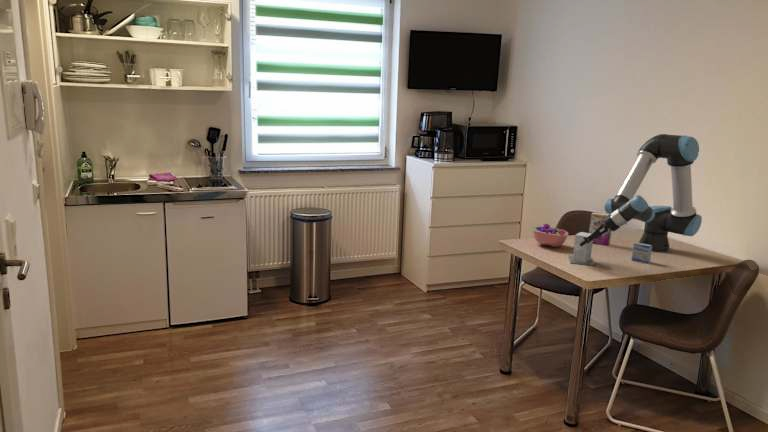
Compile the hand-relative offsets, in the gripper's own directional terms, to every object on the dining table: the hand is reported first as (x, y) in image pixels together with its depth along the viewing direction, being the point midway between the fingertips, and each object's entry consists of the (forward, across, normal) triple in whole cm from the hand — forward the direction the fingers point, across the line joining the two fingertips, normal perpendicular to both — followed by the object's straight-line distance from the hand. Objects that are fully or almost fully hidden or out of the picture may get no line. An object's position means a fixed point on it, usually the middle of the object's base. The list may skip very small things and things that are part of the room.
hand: (579, 246), depth 276 cm
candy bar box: (+6, +43, -5) cm, 44 cm away
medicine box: (-12, +20, -23) cm, 33 cm away
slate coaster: (+4, 0, -6) cm, 7 cm away
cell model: (+19, +18, +9) cm, 28 cm away
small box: (+4, 0, -6) cm, 7 cm away
